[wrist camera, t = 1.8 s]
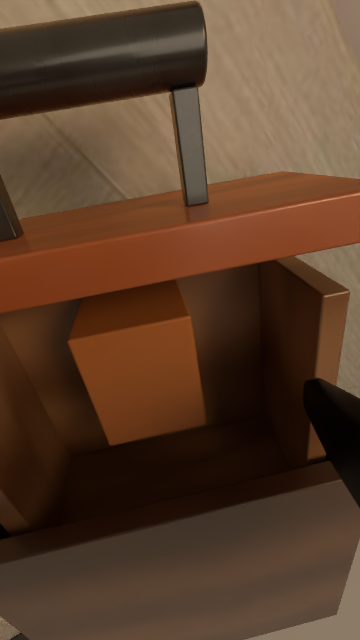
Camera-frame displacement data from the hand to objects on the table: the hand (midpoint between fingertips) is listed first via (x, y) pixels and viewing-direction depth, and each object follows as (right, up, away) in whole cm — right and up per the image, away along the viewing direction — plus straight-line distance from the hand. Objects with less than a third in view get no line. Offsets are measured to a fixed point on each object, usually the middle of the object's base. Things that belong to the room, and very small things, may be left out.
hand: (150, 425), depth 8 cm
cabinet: (0, -6, +12) cm, 13 cm away
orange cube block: (-1, +2, +4) cm, 5 cm away
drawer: (-1, +4, +5) cm, 6 cm away
